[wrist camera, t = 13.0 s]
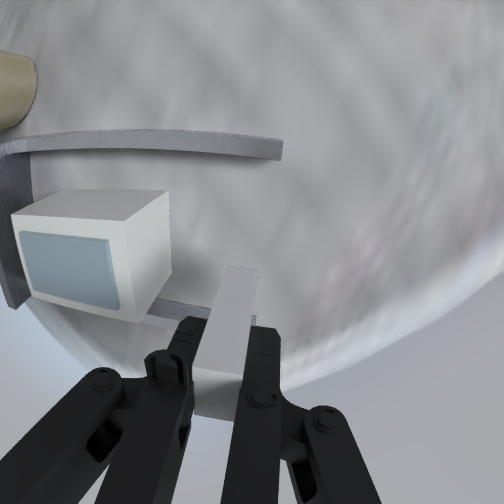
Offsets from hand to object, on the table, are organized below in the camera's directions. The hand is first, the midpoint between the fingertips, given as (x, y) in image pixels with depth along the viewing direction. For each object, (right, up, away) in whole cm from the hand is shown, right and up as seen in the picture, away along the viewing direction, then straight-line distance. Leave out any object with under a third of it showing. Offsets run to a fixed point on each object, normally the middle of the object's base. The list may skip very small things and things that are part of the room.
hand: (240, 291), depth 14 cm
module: (-9, +4, +5) cm, 11 cm away
